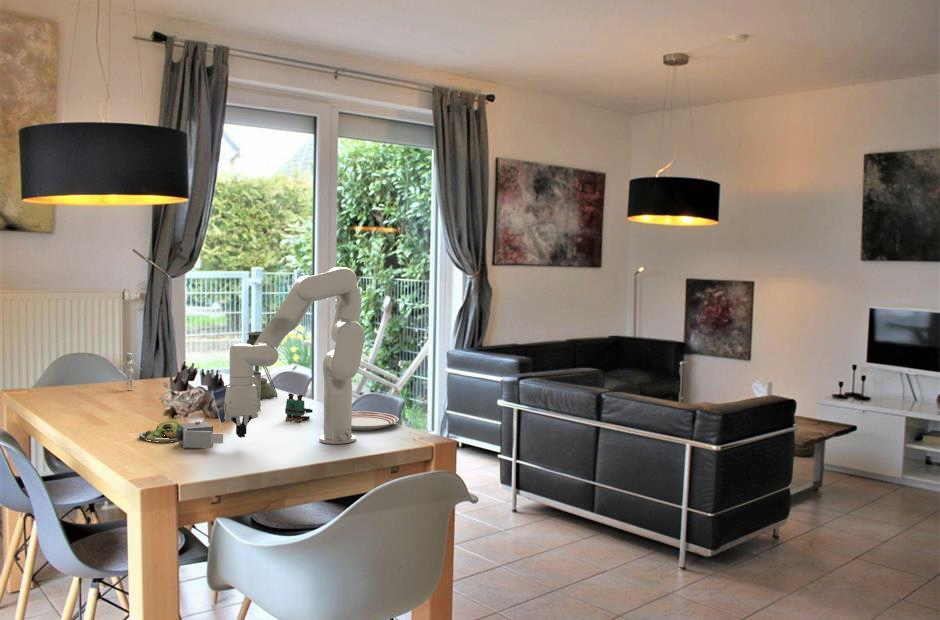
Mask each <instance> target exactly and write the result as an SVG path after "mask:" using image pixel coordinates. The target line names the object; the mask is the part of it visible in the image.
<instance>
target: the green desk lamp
mask: <svg viewBox="0 0 940 620" xmlns="http://www.w3.org/2000/svg"><path fill="white" fill-rule="evenodd" d="M261 333H262V331H249V332H248V333H247V334H246V336H247V335H248V339H247V340H246V343H245V344H250V345H252V346H253V345H254V344H255V342H256V340H257V339H258V337H259V336H260V334H261ZM254 367H255V368H254V370H255V371H258V372H260V366H254ZM261 367H262V368H263V369H264V371H265V374H264V375H261V401H263V400H264V401H265V400H271V398H272V399H274V397H275V398H277V397H278V393H277V390H276V387H275V384H274V382H273V379H272V377H271V376H270V370H269V369H268V368H267V367H265V366H261ZM265 376H266V377H267V378H265ZM268 381H269V382H268Z"/></svg>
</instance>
